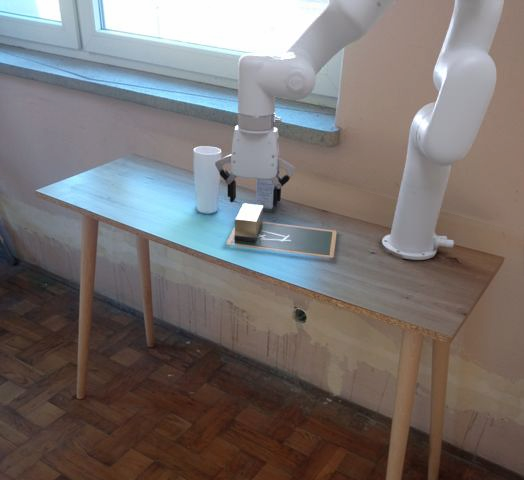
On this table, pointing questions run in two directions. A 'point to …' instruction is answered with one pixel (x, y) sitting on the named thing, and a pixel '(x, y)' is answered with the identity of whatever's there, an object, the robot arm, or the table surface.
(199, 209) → the drinking glass
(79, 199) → the table surface
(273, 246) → the slate
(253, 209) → the eraser
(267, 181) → the medicine box
